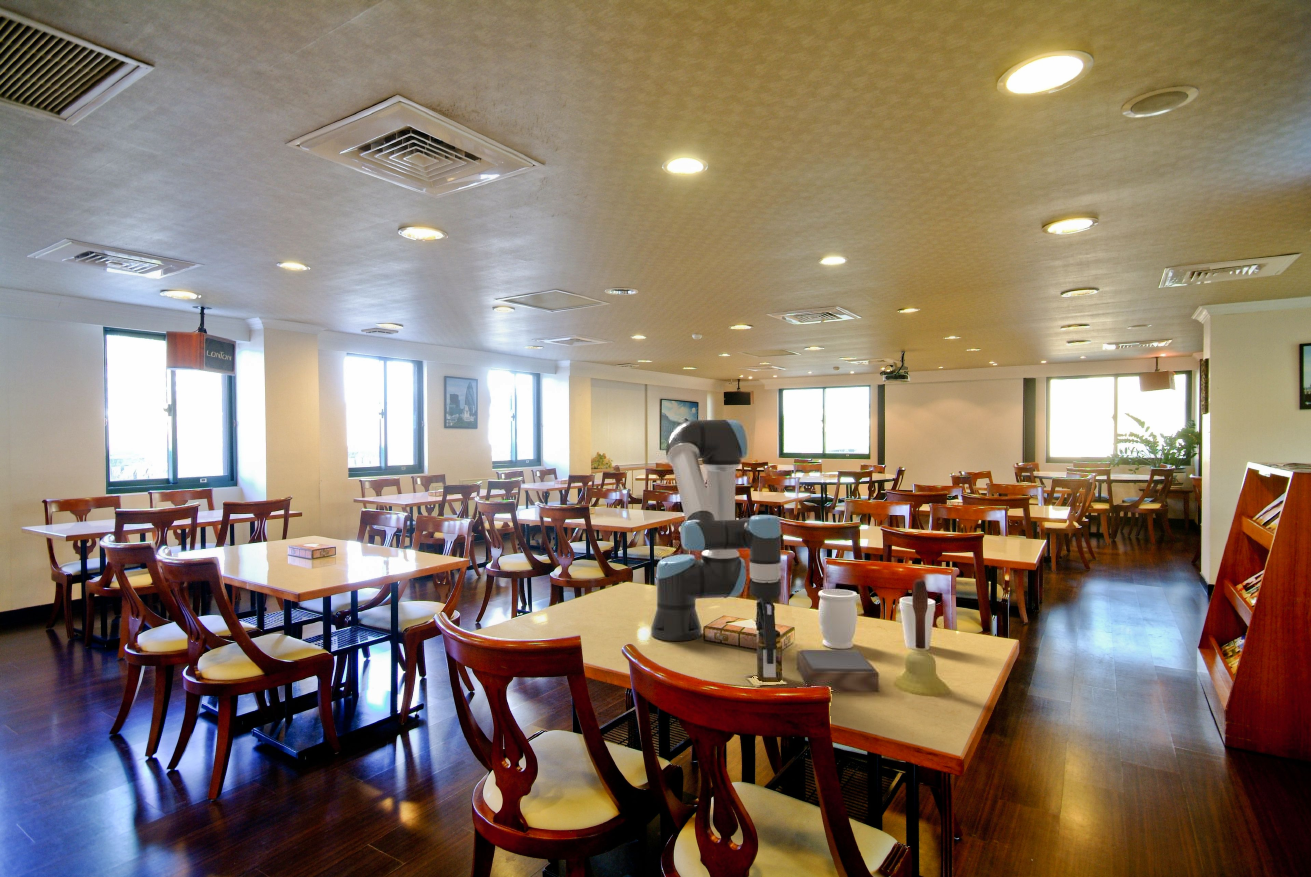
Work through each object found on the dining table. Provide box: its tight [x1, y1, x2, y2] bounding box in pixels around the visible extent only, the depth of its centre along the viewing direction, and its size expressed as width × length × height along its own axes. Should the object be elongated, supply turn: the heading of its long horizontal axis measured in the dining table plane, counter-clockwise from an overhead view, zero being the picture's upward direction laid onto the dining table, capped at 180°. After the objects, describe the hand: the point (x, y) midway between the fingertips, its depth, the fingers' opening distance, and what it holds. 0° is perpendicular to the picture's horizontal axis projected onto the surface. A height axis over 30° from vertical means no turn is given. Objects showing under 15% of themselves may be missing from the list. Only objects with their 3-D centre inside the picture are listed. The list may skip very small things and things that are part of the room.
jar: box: [818, 588, 858, 650], centre depth 192 cm, size 11×10×15 cm
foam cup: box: [899, 596, 936, 651], centre depth 190 cm, size 10×9×13 cm
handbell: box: [892, 579, 950, 697], centre depth 159 cm, size 12×12×25 cm
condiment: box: [744, 629, 783, 688], centre depth 164 cm, size 7×8×12 cm
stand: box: [796, 649, 880, 693], centre depth 164 cm, size 16×16×5 cm
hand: (765, 667), depth 163 cm, fingers open, 13 cm apart
